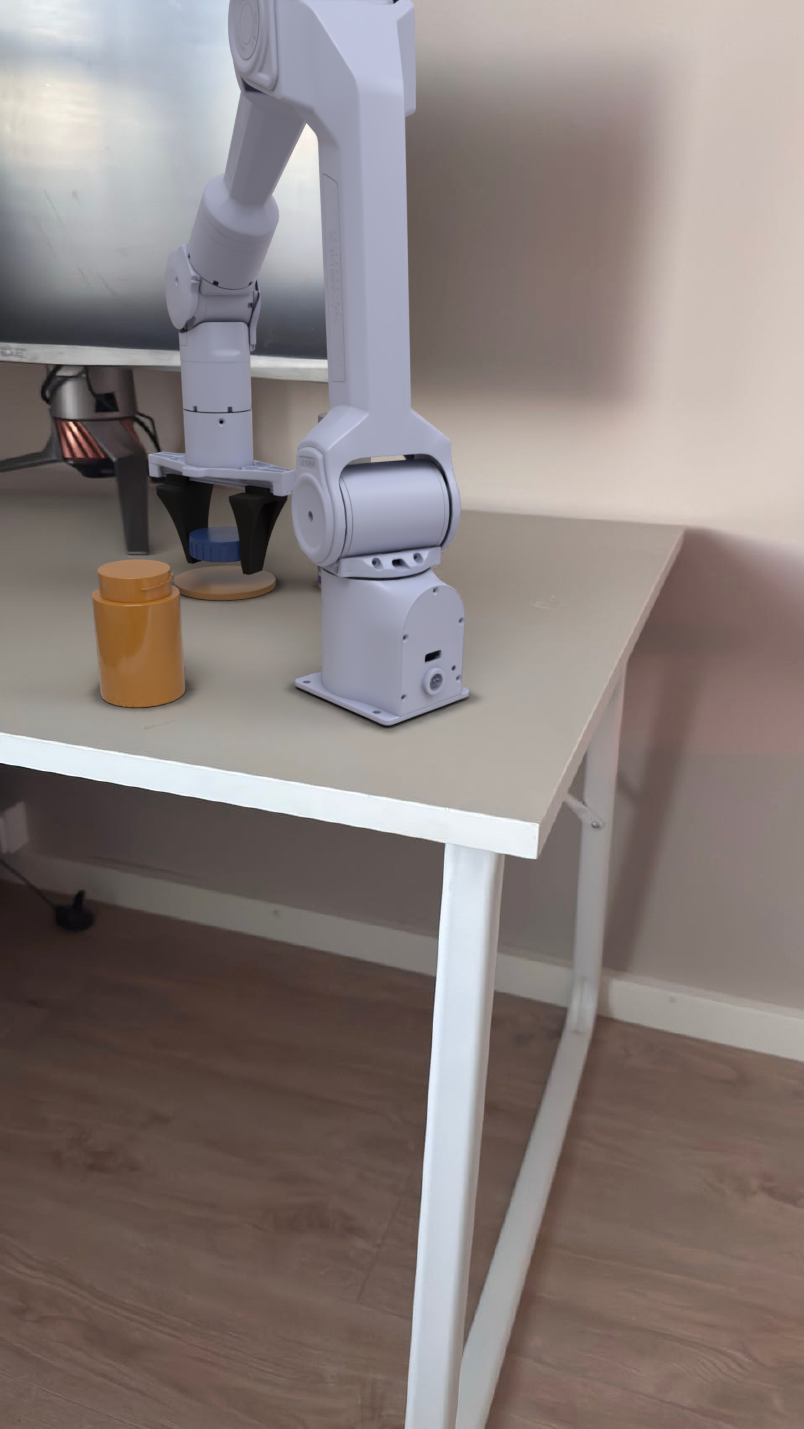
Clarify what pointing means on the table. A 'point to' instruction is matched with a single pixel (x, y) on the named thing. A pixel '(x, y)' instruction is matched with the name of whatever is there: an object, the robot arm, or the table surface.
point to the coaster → (223, 583)
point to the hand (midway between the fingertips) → (224, 566)
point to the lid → (215, 544)
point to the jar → (138, 634)
